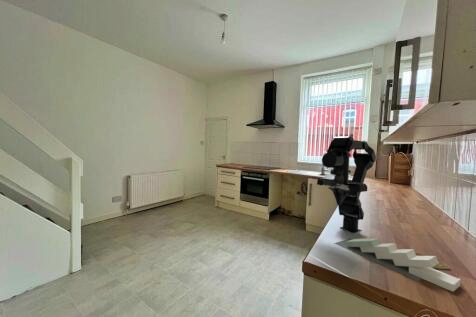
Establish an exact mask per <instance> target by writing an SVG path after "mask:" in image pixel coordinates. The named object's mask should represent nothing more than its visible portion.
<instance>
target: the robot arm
mask: <svg viewBox="0 0 476 317" xmlns="http://www.w3.org/2000/svg"><path fill="white" fill-rule="evenodd" d="M352 150H354V151H353V153H352V155H351V153H350V152H351V151H352ZM357 150H359V151H357ZM361 150H363V151H361ZM351 156H352V158H353V163H354V164H355V169H354V173H353V175H352V179H351V180H350V179H349V176H350V175H349V174H351V171H352V170H350V169H349V168H350V157H351ZM376 160H377V156H376V151H375V150H374V149H373V148H372V147H371V146H370V145H369V143H368V141H366V140H357V139H356V140H355V139H354V137H352V136H349V135H348V136H334V137H333V139H332V140H330V144H329V146H328V148H327V151H326V153H324V154H323V156H322V157H321V163H322V165H323V167H326V168H328V169H330V173H328V174H326V175H324V176H323V177H319V178H317V180H316V185H318V186H326V187H327V186H328V187H327V188H328V189H329V190H330V191H331V192H332V193H333V196H334V198H335V201H336V205H337V206H338V207H337V208H338V214H339V216H342V217H343V219H342V226H341V227H340V226H339V229H341V230H344V231H346V232H348V233H351V234H356V233H360V232H362V231H363V230H362V229H359V221H360V220H362V221H363V220H364V217H365V211H364V210H363V208H362V202H361V200H360V196H361V193H363V192H365V193H366V192H368V185H367V184H366V183H364V182H365V179H366V176H367V172H368V170H370V169H372V168H373V166H374V164H375V163H376ZM331 168H332V169H331Z"/></svg>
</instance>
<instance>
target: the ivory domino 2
mask: <svg viewBox="0 0 476 317" xmlns="http://www.w3.org/2000/svg"><path fill="white" fill-rule="evenodd" d="M397 249H398V248H397ZM415 253H416V252H415V250H414V249H413V248H411V249H408V248H407V249H406V248H405V249H402V248H401V249H398V250H395V251H393V252H390V253H378V252H375V255H376V257H377V259H405V260H409V259H411V258H413V257H415V256H416V254H415Z"/></svg>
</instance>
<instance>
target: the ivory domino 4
mask: <svg viewBox="0 0 476 317" xmlns="http://www.w3.org/2000/svg"><path fill="white" fill-rule="evenodd" d="M409 273H411V274H413V275H415V276H418V277H420V278H422V279H423V280H425V281H427V282H430V283H432V284H435V285H436V286H438V287H440V288H443V289H446V290H448V291H451V292H452V293H453V292H455V291H456V290H457V289H458V288H460V287H461V278H459V277H456V276H453V275H450V274H448V273H446V272H443V271H440V270H437V269H436V268H430V267H411V266H409ZM422 279H421V280H422Z"/></svg>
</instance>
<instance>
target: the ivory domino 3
mask: <svg viewBox="0 0 476 317" xmlns="http://www.w3.org/2000/svg"><path fill="white" fill-rule="evenodd" d="M438 260H439V259H438V258H437V256H436V255H424V256H415V257H413V258H411V259H409V260H405V259H393V262H394V264H395V266H411V267H431V268H432V267H434V266H435V265H437V264H438V263H439V262H438Z"/></svg>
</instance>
